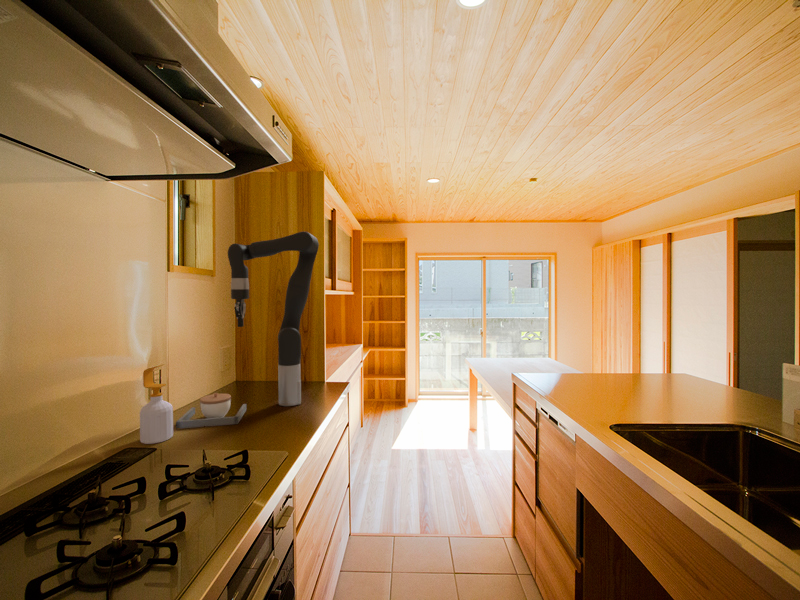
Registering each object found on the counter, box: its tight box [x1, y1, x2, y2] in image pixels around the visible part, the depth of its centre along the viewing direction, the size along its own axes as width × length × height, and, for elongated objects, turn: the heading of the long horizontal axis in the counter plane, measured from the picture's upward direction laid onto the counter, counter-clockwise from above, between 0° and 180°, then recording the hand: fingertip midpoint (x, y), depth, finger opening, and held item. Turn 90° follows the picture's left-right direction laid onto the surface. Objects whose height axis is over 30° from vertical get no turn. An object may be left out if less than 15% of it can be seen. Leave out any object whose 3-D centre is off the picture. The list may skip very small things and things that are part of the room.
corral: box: [175, 403, 247, 430], centre depth 139 cm, size 20×17×2 cm
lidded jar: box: [199, 392, 232, 418], centre depth 140 cm, size 11×11×9 cm
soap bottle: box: [139, 363, 174, 445], centre depth 119 cm, size 9×9×25 cm
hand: (240, 326), depth 164 cm, fingers closed
